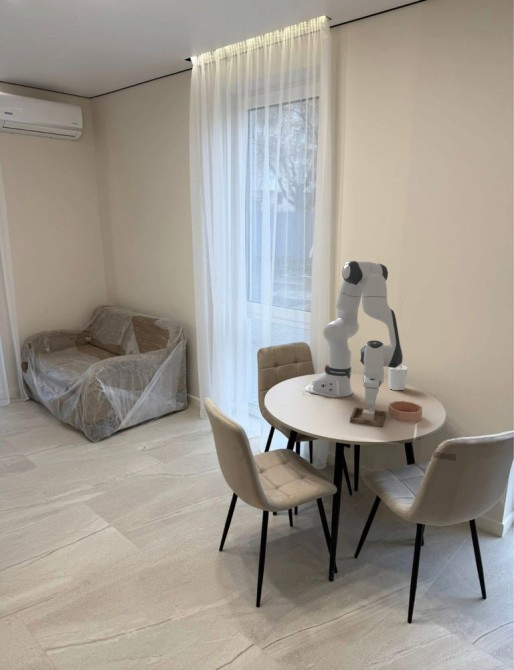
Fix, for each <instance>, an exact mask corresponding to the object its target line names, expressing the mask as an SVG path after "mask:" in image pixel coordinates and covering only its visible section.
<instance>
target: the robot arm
mask: <svg viewBox="0 0 514 670" xmlns="http://www.w3.org/2000/svg"><path fill="white" fill-rule="evenodd" d="M341 271H342V272H341V275H342V278H343V279H342V282H341V285H340V288H339V291H338V296H337V300H336V305H335V307H336V309H337V317H336V319H335V320H332V321H330V322H329V323H327V324H326V325H325V326H324V328H323V331H322V332H323V333H322V334H323V337H324V339H325V340H326V343H327V347H328V351H329V352H328V363H326V364H325V366H324V372H322V373H320V374H319V375H317V376H316V377H315V378H314V379H313V382H312V383H313V384H312V385H313V388H312V390H309V389H311V388H310V386H309V387H308V390H309V391H308V392H309V393H310V394H315V395H318V396H319V395H320V396H324V397H329V398H334V399H336V398H342V397H348V396H351V395H352V393H353V390H352V386H351V376H352V366H351V365H352V364H351V360H352V359H351V358H352V352H351V349H350V347H349V343H348V339H350V338H353V337H354V336H355V335H356V334H357V333H358V331H359V329H360V325H359V322H358V313H359V308H360V305H361V306H362V310H363V312H364V313H365V314H366V315H367V316H368V317H370V318H372V319H374V320H376V321H377V320H378V321H379V322H381V323H383V324H385V325H386V328H387V330H388V336H389V341H390V342H389V343H390V344H387V345H386V344H384V343H383V342H381V341H379V340H374V339H373V340H368V341H366V343H365V345H364V346H363V347H361V348H360V350H359V351H360V359H359V362H361V364H362V365H363V366H364V367H363V370H362V372H363V373H362V382H363V387H364V397H365V404H366V405H367V406H368V409H369V412H373V410H374V406H375V405H376V402H377V398H378V394H379V391H380V390H379V389H380V387H381V385H383V384H384V379H385V378H384V377H385V370H384V367H386V368H389V367H392V368H396V367H398V366H399V365H402V363H403V361H404V352H403V350H402V347H401V342H400V336H399V329H398V323H397V318H396V314H395V311H394V309H392V308H390V306H389V304H388V289H387V282H386V281H387V280H388V276H389V271H388V268H387V266H386V265H384V264H382V263H379V262H378V263H376V262H372V261H356V260H351V261H347V262H346V263H345V264H344V266H343V267H342V270H341ZM360 303H361V304H360Z"/></svg>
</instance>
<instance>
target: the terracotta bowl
mask: <svg viewBox="0 0 514 670" xmlns="http://www.w3.org/2000/svg"><path fill="white" fill-rule="evenodd" d="M387 410H388V411H387V415H388V416H389V417H390V418H391V419H395V420H397V421H401V422H415V424H418V423H420V422H422V417H423V406H421V405H420V404H419V403H416V402H412V401H407V400H406V401H405V400H400V401H399V400H397V401H396V400H395V401H392V402H389V403H388V409H387Z"/></svg>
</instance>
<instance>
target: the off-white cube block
mask: <svg viewBox="0 0 514 670" xmlns="http://www.w3.org/2000/svg"><path fill="white" fill-rule="evenodd" d="M366 409H367V408H364V410H363V412H362V419H366V420H373V421H374V418H375V411H373V412H369V410H366Z"/></svg>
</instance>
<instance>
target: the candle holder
mask: <svg viewBox="0 0 514 670" xmlns="http://www.w3.org/2000/svg"><path fill="white" fill-rule="evenodd" d="M407 374H408V366H405V365H403V364H400V365H399V366H398V367H396V368H392V367H388V389H389V388H390V389H392V390H391V391H393V390H403V391H405V389H406V382H407ZM390 389H389V390H390Z"/></svg>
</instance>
